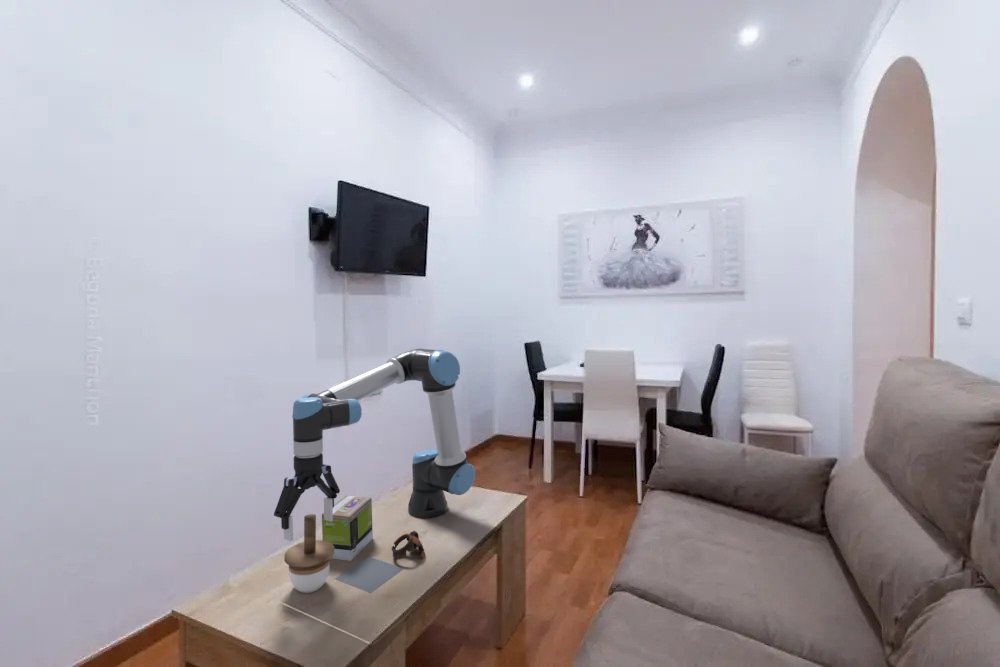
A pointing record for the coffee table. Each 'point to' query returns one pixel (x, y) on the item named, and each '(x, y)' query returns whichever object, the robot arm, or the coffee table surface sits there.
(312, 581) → the lidded jar
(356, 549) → the tea box
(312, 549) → the tan wooden handled piece
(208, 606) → the coffee table surface
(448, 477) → the robot arm
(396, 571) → the mat
